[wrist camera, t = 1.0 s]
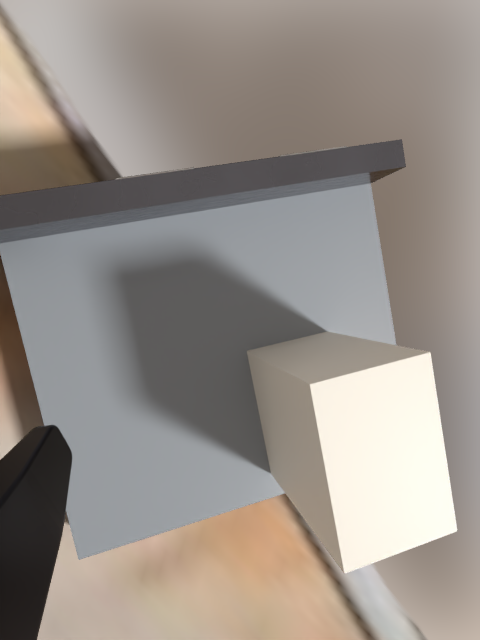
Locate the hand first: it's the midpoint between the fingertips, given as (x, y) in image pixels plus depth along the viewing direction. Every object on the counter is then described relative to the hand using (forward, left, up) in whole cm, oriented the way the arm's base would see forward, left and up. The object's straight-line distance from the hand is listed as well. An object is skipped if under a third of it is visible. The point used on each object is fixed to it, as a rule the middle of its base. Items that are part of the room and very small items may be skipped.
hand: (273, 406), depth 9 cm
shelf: (-1, -2, -14) cm, 15 cm away
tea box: (-4, -5, -12) cm, 14 cm away
